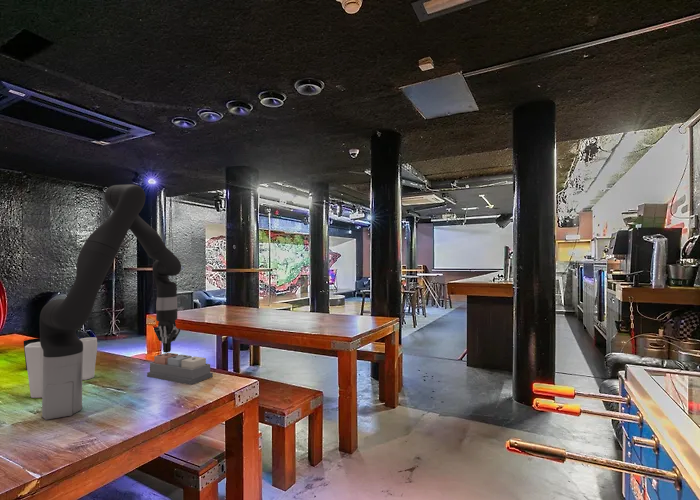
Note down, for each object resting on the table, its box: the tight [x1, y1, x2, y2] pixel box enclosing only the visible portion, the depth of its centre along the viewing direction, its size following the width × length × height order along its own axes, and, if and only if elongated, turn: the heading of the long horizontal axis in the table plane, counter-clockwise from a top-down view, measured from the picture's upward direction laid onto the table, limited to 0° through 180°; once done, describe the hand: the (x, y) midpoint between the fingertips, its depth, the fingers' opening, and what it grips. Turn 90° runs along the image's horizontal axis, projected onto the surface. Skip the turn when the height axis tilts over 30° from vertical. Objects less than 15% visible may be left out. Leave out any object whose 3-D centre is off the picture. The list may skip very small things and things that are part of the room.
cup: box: [23, 337, 40, 371], centre depth 151 cm, size 8×8×12 cm
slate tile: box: [168, 354, 193, 367], centre depth 138 cm, size 6×6×4 cm
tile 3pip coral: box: [153, 352, 179, 365], centre depth 141 cm, size 6×6×4 cm
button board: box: [146, 361, 213, 386], centre depth 138 cm, size 24×10×5 cm, turn 65°
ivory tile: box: [181, 356, 207, 369], centre depth 134 cm, size 6×6×4 cm
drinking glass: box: [79, 336, 98, 381], centre depth 137 cm, size 7×7×15 cm
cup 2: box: [24, 342, 43, 399], centre depth 120 cm, size 11×10×17 cm
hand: (166, 351), depth 141 cm, fingers closed
